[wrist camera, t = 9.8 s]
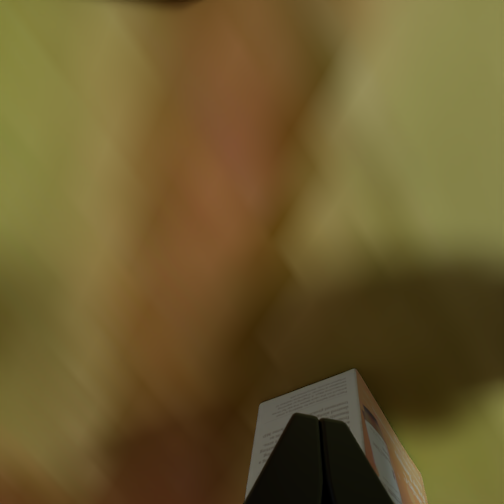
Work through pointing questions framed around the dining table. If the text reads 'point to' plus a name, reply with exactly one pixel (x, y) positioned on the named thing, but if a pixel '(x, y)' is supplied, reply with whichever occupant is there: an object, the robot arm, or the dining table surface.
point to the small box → (359, 422)
